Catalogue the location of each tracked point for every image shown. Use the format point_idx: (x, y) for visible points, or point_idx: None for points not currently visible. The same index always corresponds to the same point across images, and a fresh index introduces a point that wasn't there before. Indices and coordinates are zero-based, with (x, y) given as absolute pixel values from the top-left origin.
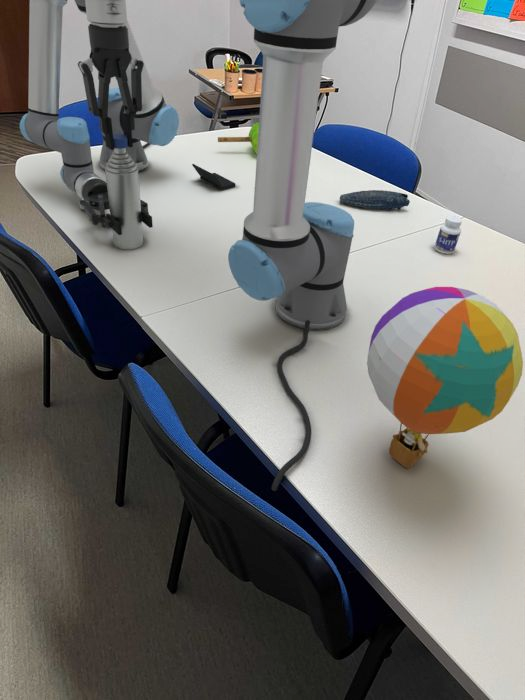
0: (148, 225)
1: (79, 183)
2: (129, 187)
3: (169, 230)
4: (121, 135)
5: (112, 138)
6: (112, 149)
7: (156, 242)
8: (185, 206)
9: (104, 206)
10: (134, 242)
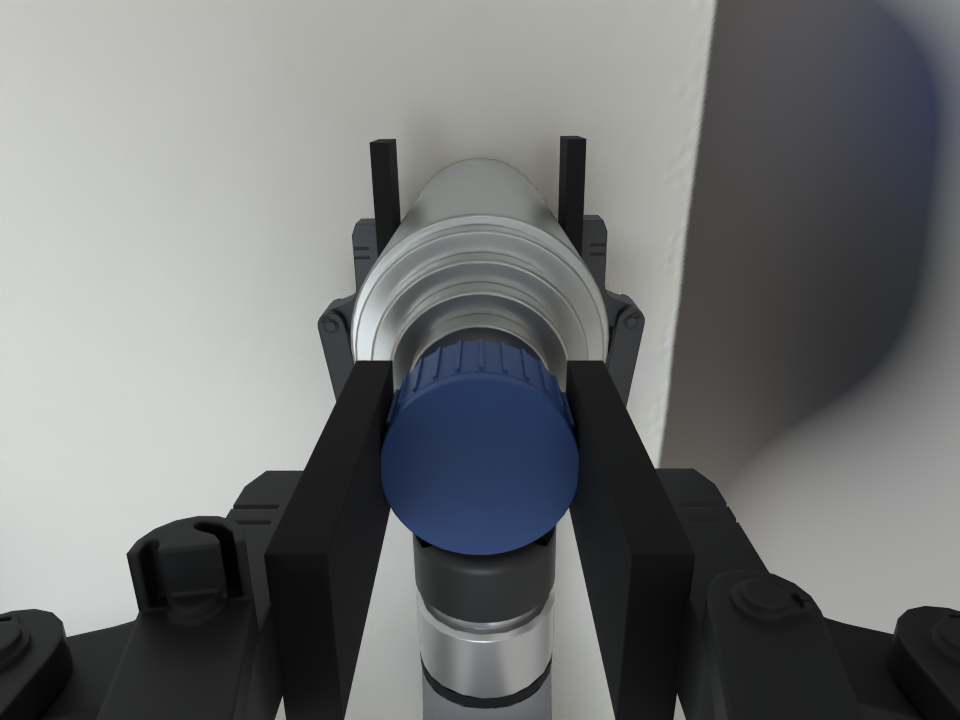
0: (396, 153)
1: (544, 641)
2: (483, 196)
3: (256, 250)
4: (433, 488)
5: (594, 408)
6: (589, 360)
7: (363, 168)
8: (89, 435)
9: None
10: (480, 160)
